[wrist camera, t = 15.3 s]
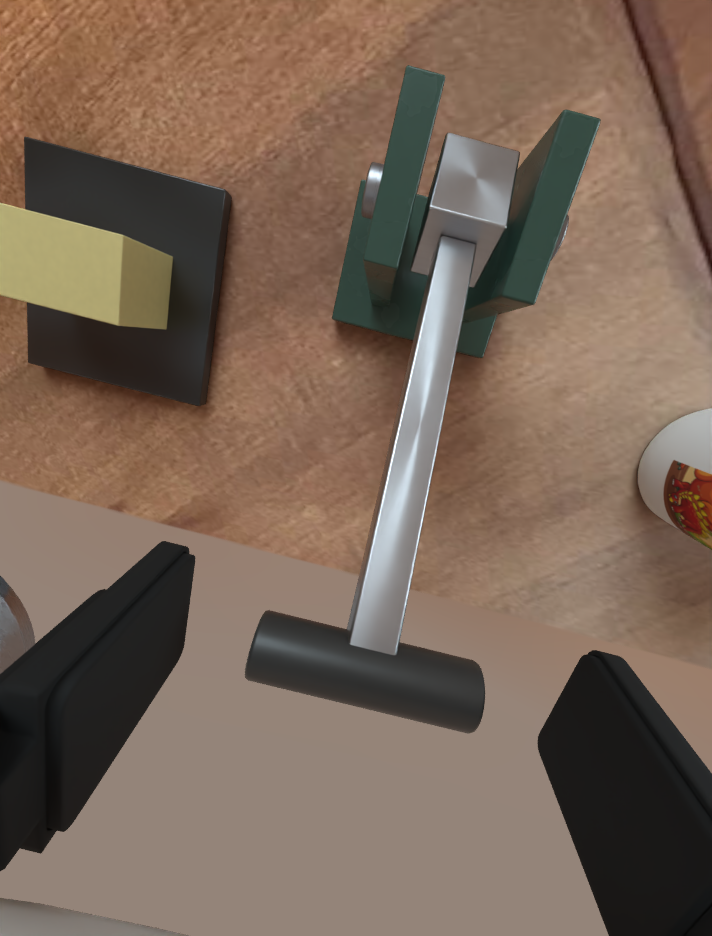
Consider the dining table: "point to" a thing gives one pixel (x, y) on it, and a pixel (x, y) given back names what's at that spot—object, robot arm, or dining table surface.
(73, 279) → the butter
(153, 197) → the board
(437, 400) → the t-handle lever
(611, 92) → the dining table surface
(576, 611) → the dining table surface
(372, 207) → the green lever stand
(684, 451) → the milk bottle
